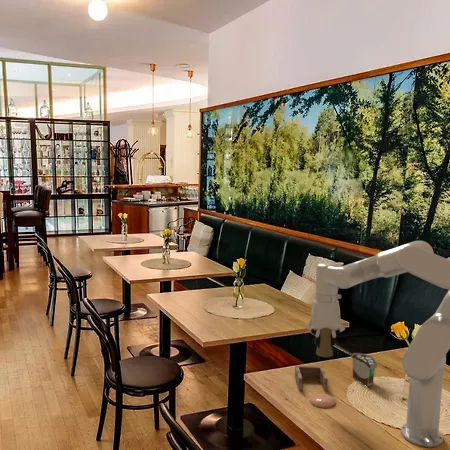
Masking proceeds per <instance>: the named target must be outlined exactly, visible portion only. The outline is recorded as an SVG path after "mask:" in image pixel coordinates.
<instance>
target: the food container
mask: <svg viewBox="0 0 450 450" xmlns="http://www.w3.org/2000/svg"><path fill="white" fill-rule="evenodd" d="M351 358H352V379H354V380H356V381H357V382H358V381H359V382H358V383H360V382H361V383H363V384H364V385H366V386H367V387H368V388H370V386H371V387H372V386H373V385H372V384H373V383H374V380H375V379H374V378H375V371H376V369H377V367H378V362H377V359H376V358H375V357H374V356H372V355H370V354H367V353H360V352H354V353H352V355H351ZM361 383H360V384H361ZM363 384H362V385H363ZM364 385H363V386H364ZM366 386H365V387H366ZM367 387H366V388H367Z"/></svg>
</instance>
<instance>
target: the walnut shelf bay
mask: <svg viewBox="0 0 450 450" xmlns="http://www.w3.org/2000/svg"><path fill="white" fill-rule="evenodd" d="M294 379H295V382H296V386H297V390H298V391H302V390H303V387H302V386H303V380H318V381H319V382H320V384H321V387H322V389H323V391H324V392H328V384H329V379H328V376H327V373H326V371H325V369H324V367H323V366H318V365H317V366H316V365H315V366H313V365H295V367H294Z"/></svg>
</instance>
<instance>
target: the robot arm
mask: <svg viewBox="0 0 450 450" xmlns="http://www.w3.org/2000/svg"><path fill="white" fill-rule="evenodd" d="M315 270H316V271H315V272H316V275H315V277H316V278H315V299H313V300H312V305H311V311H310V312H311V313H310V320H309V321H308V323H307V324H306V326H305V328H306V330H308V331H309V332H311V333H312V334H313V335H314V336H315V339H314V340H315V341H314V342H315V343H314V344H315V345H316V346H317V345H318V348H320V335H319V333H320V329H323V328H329V329H331V330H332V333H331V348H332V350H333V349H334V346H335V344H336V341H335V339H336V338H337V336H338V335H339V334H340V333H342V332H343V331H345V330H346V327H345V326H344V324H343V323H342V321H341V309H340V303H339V299H342V294H338V289H343V290H344V289H350V288H351V287H354V286H356V285H359V284H361V283H364V282H367V281H368V282H369V281H371V280H374V279H375V280H376V279H378V278H386V279H387V278H391V277H394V276H399V275H402V274H404V273H409V274H411V275H413V276H415V277H417V278H419V279H421V280H424V281H425V282H427V283H430V284H432V285H434V286H436V287H439V288H442V289H444V290H445V289H446V290H448V291H447V293H446V294H445V296H444V297H443V299H442V301H441V302H440V305H438V308H437V309H436V311H435V312H434V314H433V315H432V316H431V317H429V318H428V319H427V320H425V322H423V323H422V324H421V326H420V327H419V328H418V330H417V332H416V333H415V334H414V337H413V338H412V340H411V342H410V344H409V346H408V348H407V349H406V351H405V353H404V354H403V358H402V368H403V371H404V372H405V374H406V375H407V376H408V377H409V383H408V385H409V386H408V387H409V388H408V395H407V396H408V397H407V412H406V423H404V424H403V425H401V427H400V434H401V436H402V437H403V438H404V439H406V440H407V441H408V442H410V443H412V444H415V445H417V446H421V447H426V448H427V447H428V448H434V447H438V446H440V445H442V444H443V442H444V435H443V434H442V432H441V431H440V430H439V429H440V416H441V404H442V394H443V383H444V376H445V375H444V374H445V370H446V364H447V363H446V362H447V353H448V352H449V351H450V257H448V258H445V257H443V256H440V255H439V254H436V253H434V250H433V247H432V246H431V245H430V244H429V243H428V242H426V241H424V240H414V241H411V242H408V243H406V244H401V245H400V246H395V247H393V248H391V249H387V250H384V251H380V252H378V253H376V254H375V255H373V256H370V257H368V258H364V259H361V260H358V261H355V262H352V263H348V264H345V265H342V266H338V265H337V264H335V263H332V262H320V263H318V264H317V266H316V269H315Z"/></svg>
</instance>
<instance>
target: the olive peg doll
mask: <svg viewBox="0 0 450 450" xmlns="http://www.w3.org/2000/svg"><path fill="white" fill-rule="evenodd" d="M331 333H332V330H331V329H329V328H323V329H320V333H319V335H320V348H318V345H316V351H315V354H316V356H319V357H320V358H321V357H322V358H331V357H333V355H334V352H333V349H332V348H331Z"/></svg>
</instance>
